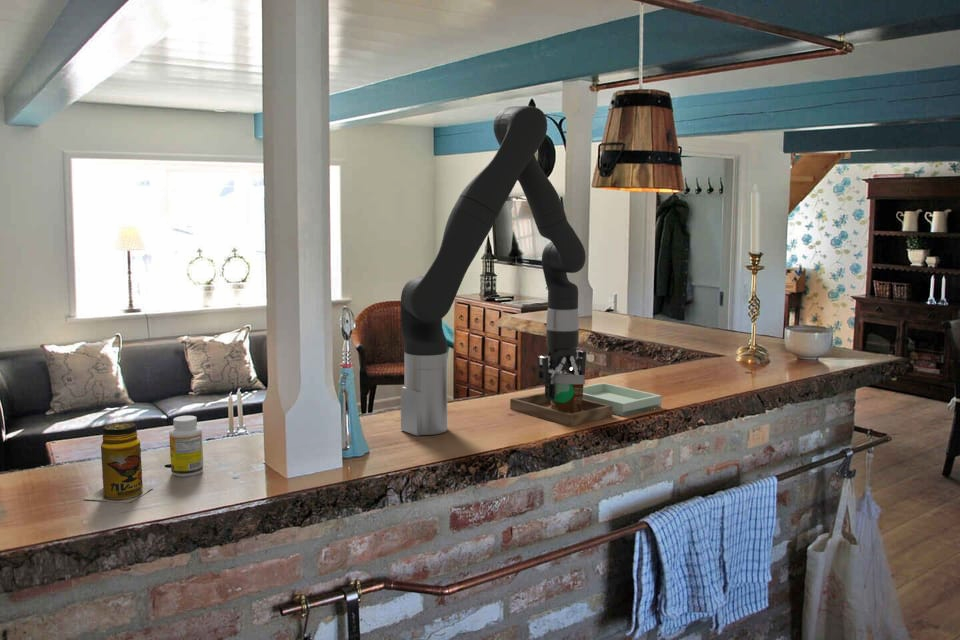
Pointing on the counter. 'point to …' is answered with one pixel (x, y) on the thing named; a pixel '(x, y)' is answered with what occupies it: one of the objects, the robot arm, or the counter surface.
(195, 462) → the supplement bottle
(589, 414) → the walnut frame
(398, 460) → the counter surface
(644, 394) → the sage tray
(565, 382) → the food container
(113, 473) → the condiment
